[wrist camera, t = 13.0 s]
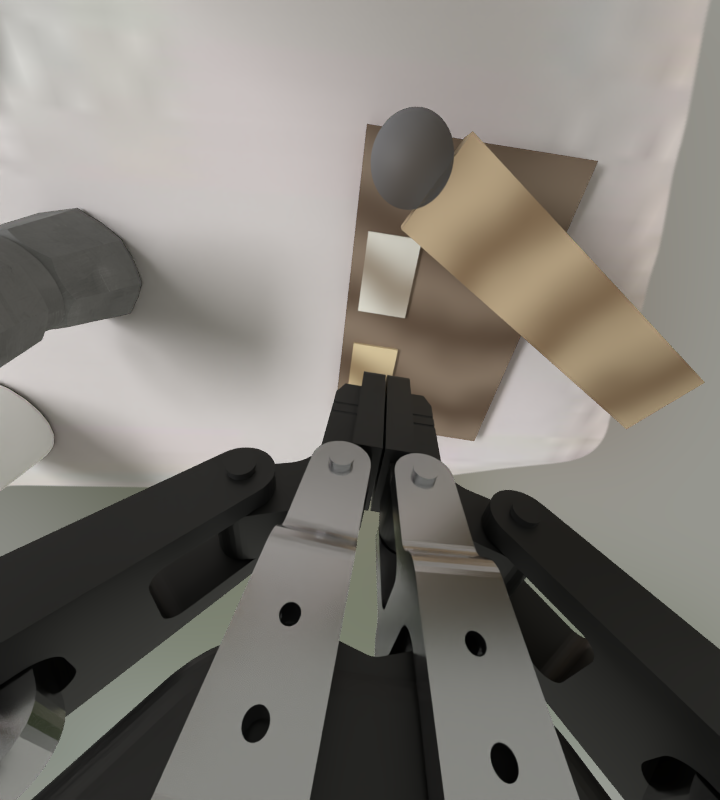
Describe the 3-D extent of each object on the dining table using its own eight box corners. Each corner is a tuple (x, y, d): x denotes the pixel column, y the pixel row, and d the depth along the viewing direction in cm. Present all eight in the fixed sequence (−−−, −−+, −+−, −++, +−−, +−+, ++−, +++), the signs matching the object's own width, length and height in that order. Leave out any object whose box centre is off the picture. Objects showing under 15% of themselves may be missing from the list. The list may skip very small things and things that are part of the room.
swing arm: (352, 183, 18) (348, 182, 16) (413, 82, 15) (415, 69, 14) (610, 412, 24) (626, 429, 23) (681, 367, 22) (704, 382, 20)
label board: (368, 126, 21) (360, 107, 16) (588, 162, 21) (650, 154, 16) (336, 412, 35) (326, 450, 30) (471, 433, 35) (485, 476, 30)
